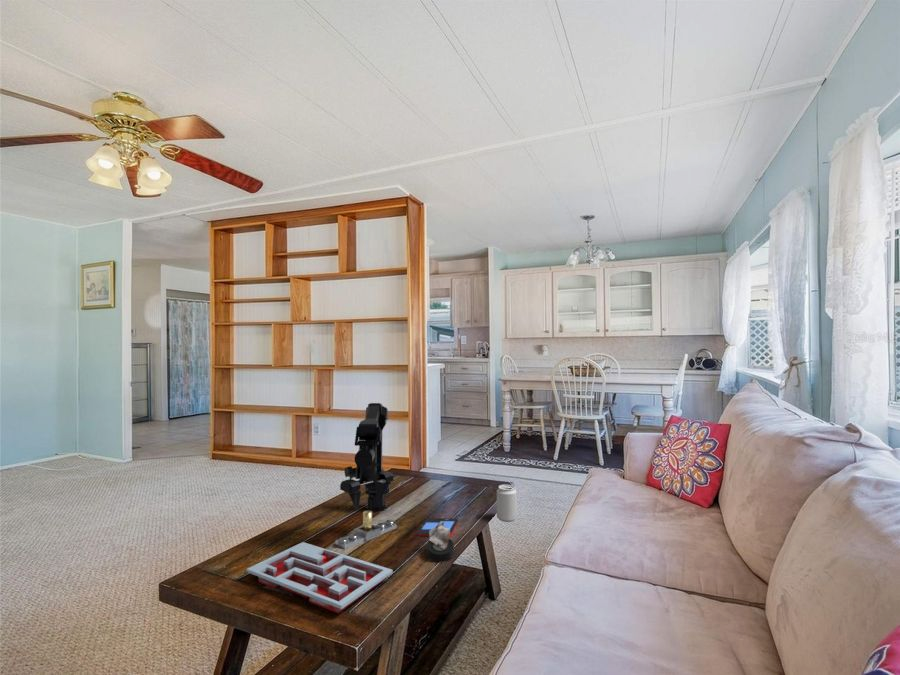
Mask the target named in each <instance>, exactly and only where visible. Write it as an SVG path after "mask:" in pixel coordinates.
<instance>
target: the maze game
mask: <svg viewBox="0 0 900 675" xmlns="http://www.w3.org/2000/svg"><path fill="white" fill-rule="evenodd" d="M246 573H248V574H251V575H254V576H255V577H256V576H257V577H258V583H261V584H262V585H265V586H268V587H270V588H272V589H276V588H279V587H280V588H281V589H282V590H286V591H288V592H290V593H293V594H296V595H298V596H300V597H301V596H302V597H303V598H306V599H308V603H311V604H313V605H316V606H319V607H321V608H324V609H327V610H329V611H332V612H334V613H336V614H340V613H342V612H343V611H344V610H346V609H347V608H348V607H350V606H352V605H353V603H355V602H356V601H358V600H359V599H361V598H362V597H363V596H364V594H368V593H369V592H371V590H374V588H376V587H377V586H379V584H381V583H383V582H384V581H385V579H386V578H388V577H389V576H390V575H392V574H393V569H392V568H388V567H386V566H385V567H384V566H382V565H379V564H376V563H372V562H370V561H369V562H368V561H365V560H364V559H363V560H362V559H358V558H356V557H352V556H350V555H346V554H343V553H339V552H336V551H333V550H331V549H326V548H323V547H320V546H316V545H314V544H310V543H307V542H304V541H303V542H300V543H298V544H296V545H293V546H292V547H290V548H287V549H285V550H283V551H281V552H279V553H277V554H275V555H272V556H270V557H269V558H266V559H264V560H262V561H261V562H258V563H256V564H253V565H252V566H250V567H248V568H246Z"/></svg>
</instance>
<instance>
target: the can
mask: <svg viewBox="0 0 900 675" xmlns="http://www.w3.org/2000/svg"><path fill="white" fill-rule="evenodd" d="M517 492H518V491H517V490H516V487H515V486H514V485H513V484H500V485H498V488H497V489H496V517H497V519H498V520H499V521H500V522H504V523H509V522H511V523H512V522H514V521H515V520H516V519H517V518H518V510H517V509H518V504H517V502H518V499H517V498H518V493H517Z"/></svg>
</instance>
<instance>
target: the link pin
mask: <svg viewBox="0 0 900 675" xmlns="http://www.w3.org/2000/svg"><path fill="white" fill-rule="evenodd" d="M362 518H363V519H362V526H363V531H365V532H368V531H370V530H372V525H373V511H372V510H369V509H367V510H363V512H362Z"/></svg>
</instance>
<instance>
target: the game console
mask: <svg viewBox="0 0 900 675" xmlns="http://www.w3.org/2000/svg"><path fill="white" fill-rule="evenodd" d="M443 521H444V527H446V528H447V529H449V530H450V537H451V538H452V537H453V535H452V534H454V533H455V531H456V529H455V527H458V526H459V520H458V519H457V518H440V517H439V518H434V517H432V518H431V517H429V518H426V519H424V522H422V524H421V525H420V527H419V528H418V529H417V531H416V532H415V533H414V535H415V536H417V537H424V536H428V537H427V538H429V531H430V530H431V529H433V528H434V527H435V526H437V525H438V524H440V523H441V522H443ZM457 525H458V526H457ZM450 537H449V539H451V538H450Z"/></svg>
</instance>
